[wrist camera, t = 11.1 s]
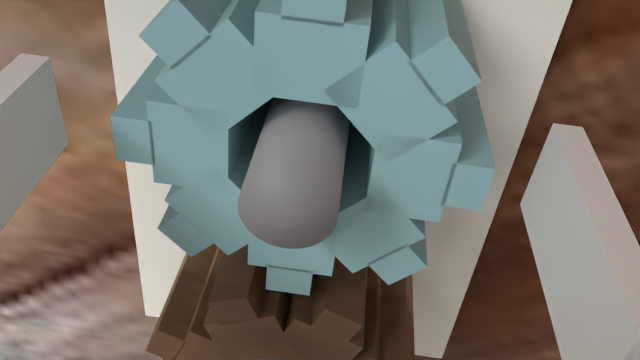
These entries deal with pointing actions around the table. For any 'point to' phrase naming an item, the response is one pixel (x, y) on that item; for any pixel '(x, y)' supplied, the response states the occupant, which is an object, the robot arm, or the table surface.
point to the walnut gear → (281, 314)
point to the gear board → (458, 229)
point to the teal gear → (317, 87)
